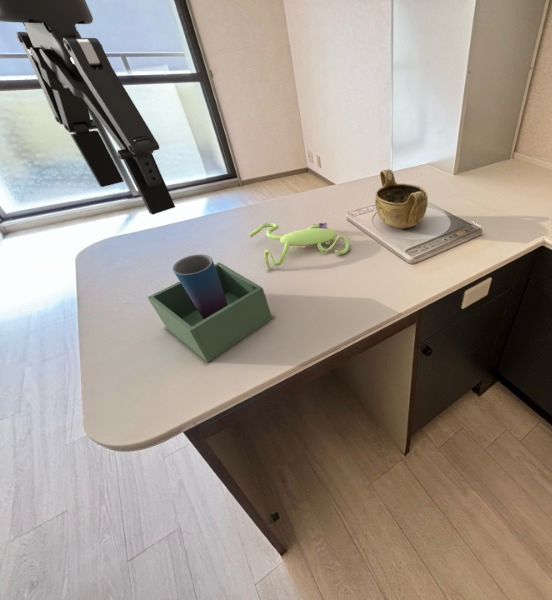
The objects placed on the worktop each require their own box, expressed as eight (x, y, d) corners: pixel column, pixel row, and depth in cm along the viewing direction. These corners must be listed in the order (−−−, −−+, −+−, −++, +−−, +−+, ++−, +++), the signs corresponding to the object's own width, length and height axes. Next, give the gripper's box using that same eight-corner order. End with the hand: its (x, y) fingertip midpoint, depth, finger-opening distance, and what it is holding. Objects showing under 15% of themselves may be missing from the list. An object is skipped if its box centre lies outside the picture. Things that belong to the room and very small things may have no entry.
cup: (242, 317, 72) (220, 261, 63) (215, 335, 68) (186, 279, 58) (223, 305, 75) (198, 250, 65) (195, 323, 71) (164, 266, 61)
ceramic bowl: (363, 215, 114) (361, 172, 104) (405, 206, 120) (407, 164, 111) (394, 245, 99) (395, 198, 90) (440, 233, 106) (445, 188, 96)
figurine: (251, 240, 99) (246, 223, 96) (337, 225, 108) (335, 209, 104) (257, 273, 87) (251, 256, 83) (353, 254, 95) (352, 237, 91)
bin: (207, 362, 64) (189, 331, 58) (166, 328, 71) (147, 297, 65) (272, 318, 74) (262, 287, 68) (231, 292, 80) (219, 262, 75)
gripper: (131, -35, 26) (218, 212, 40) (24, -26, 36) (122, 167, 50) (6, -51, 21) (154, 236, 35) (-76, -36, 32) (63, 181, 45)
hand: (135, 196), depth 43 cm, fingers open, 13 cm apart
